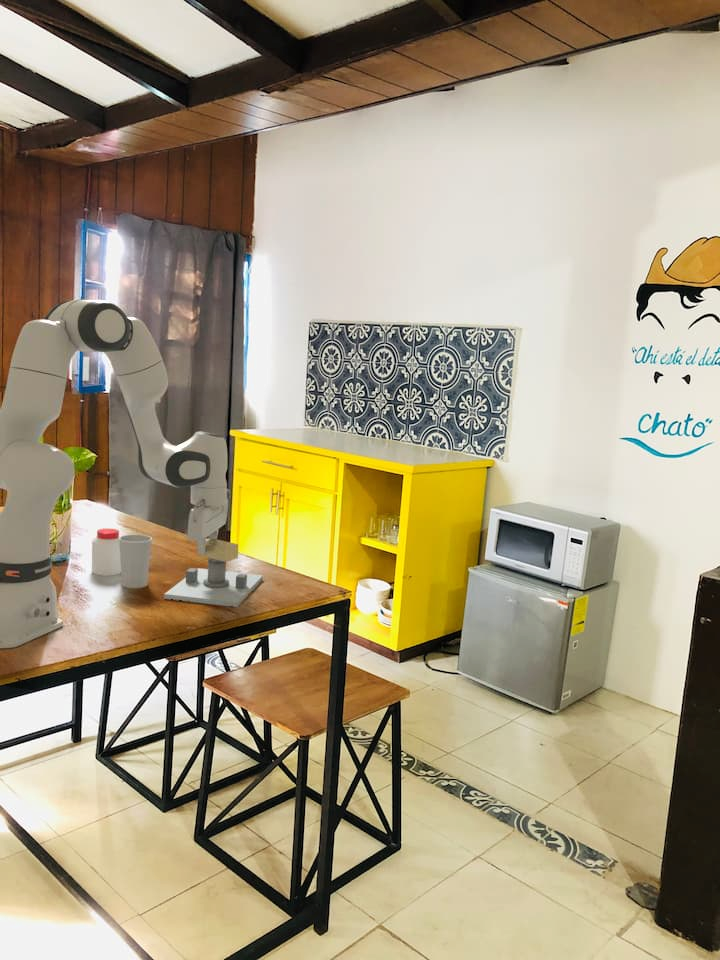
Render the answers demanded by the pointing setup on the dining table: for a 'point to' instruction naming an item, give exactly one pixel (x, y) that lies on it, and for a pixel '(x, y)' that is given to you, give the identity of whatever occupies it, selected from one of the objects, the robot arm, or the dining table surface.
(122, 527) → the dining table surface
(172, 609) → the dining table surface
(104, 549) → the pill bottle
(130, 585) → the cup
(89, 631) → the dining table surface
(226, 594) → the base
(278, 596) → the dining table surface
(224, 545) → the tan parcel with label
